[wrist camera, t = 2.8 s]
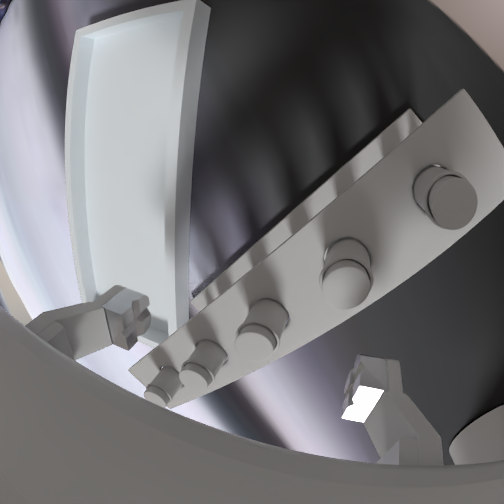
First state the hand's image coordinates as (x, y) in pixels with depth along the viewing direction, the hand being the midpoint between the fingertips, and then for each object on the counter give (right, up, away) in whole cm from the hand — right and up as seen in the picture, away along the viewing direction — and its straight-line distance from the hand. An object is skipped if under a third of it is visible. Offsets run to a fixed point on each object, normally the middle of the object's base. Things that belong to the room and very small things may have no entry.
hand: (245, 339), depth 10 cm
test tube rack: (+4, +4, +13) cm, 14 cm away
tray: (-11, +9, +16) cm, 22 cm away
